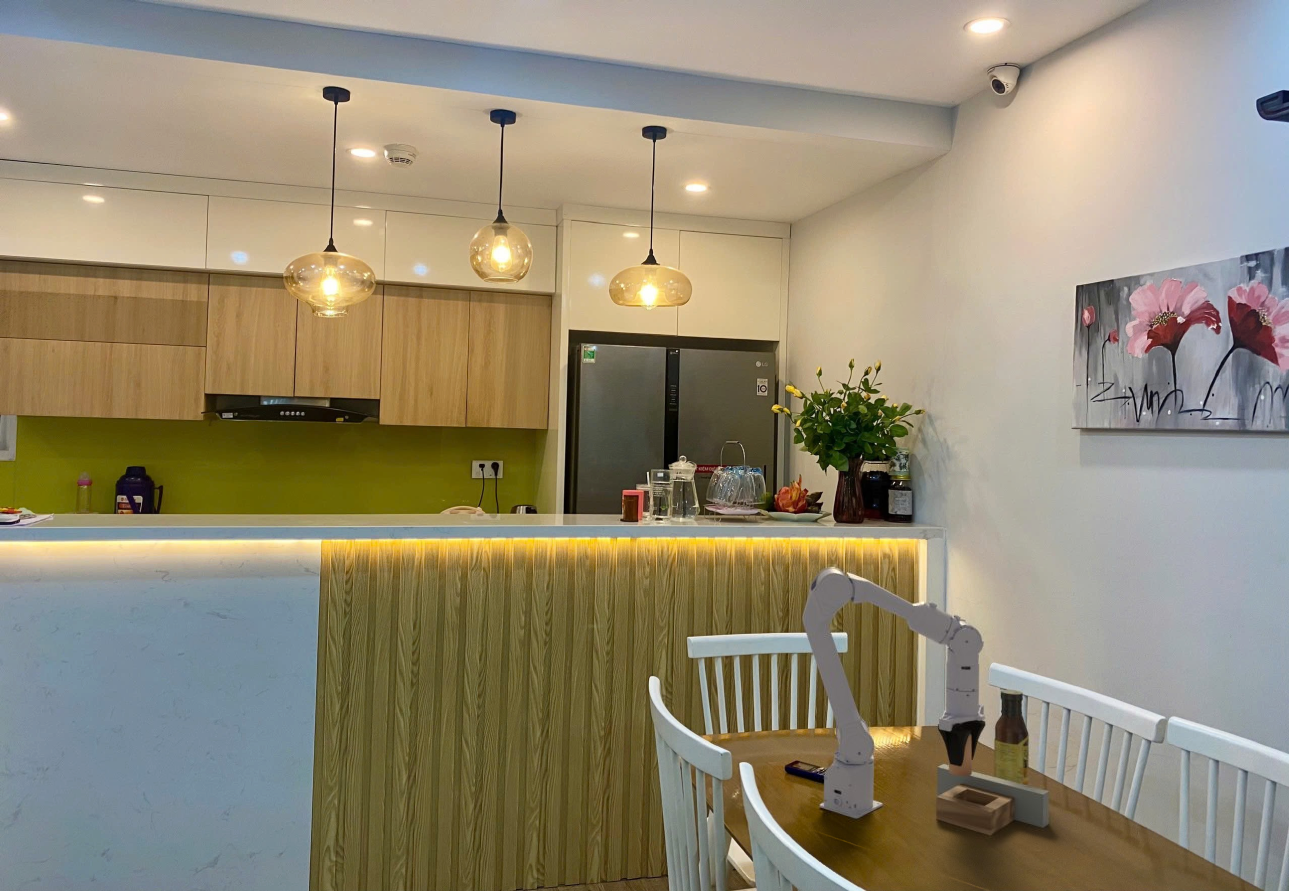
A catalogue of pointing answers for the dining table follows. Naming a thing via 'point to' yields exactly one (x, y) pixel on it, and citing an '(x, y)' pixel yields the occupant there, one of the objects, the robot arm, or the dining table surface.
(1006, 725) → the sauce bottle
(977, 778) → the backstop
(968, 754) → the dowel
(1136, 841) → the dining table surface
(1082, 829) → the dining table surface
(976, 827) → the socket block
